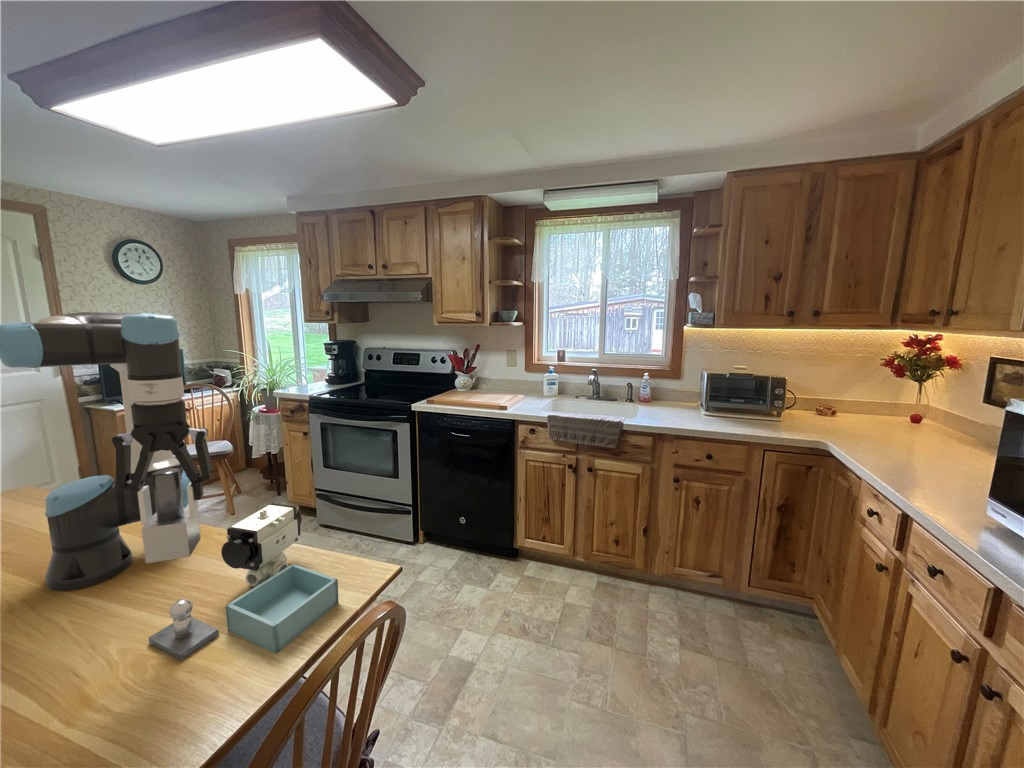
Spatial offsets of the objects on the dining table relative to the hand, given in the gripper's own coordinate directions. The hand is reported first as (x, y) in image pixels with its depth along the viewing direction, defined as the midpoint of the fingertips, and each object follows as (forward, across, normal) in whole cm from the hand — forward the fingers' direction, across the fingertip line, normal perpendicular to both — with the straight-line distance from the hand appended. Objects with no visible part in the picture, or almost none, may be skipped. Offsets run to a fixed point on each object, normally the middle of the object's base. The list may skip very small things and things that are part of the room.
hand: (171, 518), depth 79 cm
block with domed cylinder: (+7, 0, 0) cm, 7 cm away
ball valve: (+27, +13, +17) cm, 34 cm away
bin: (+26, +18, 0) cm, 32 cm away
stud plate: (+26, 0, 0) cm, 26 cm away
